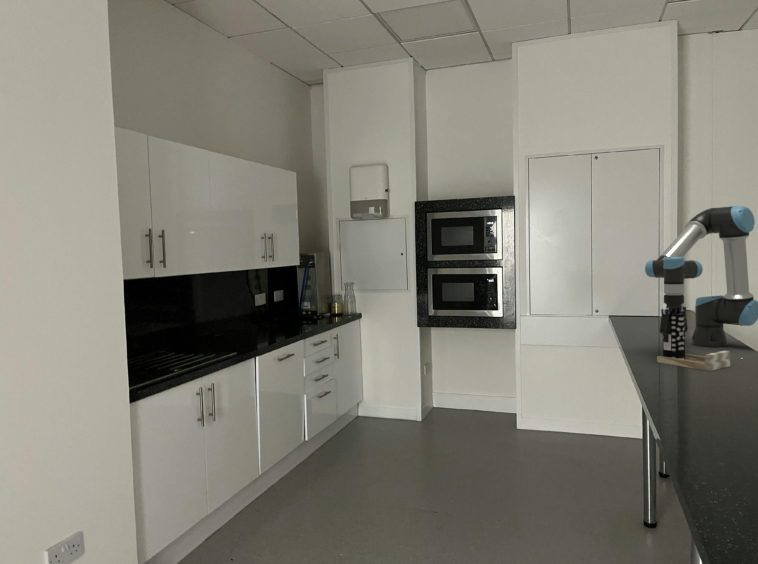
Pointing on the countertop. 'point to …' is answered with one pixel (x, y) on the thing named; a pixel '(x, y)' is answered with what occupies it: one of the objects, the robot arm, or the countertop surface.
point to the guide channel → (700, 361)
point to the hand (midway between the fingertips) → (673, 348)
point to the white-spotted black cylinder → (676, 337)
